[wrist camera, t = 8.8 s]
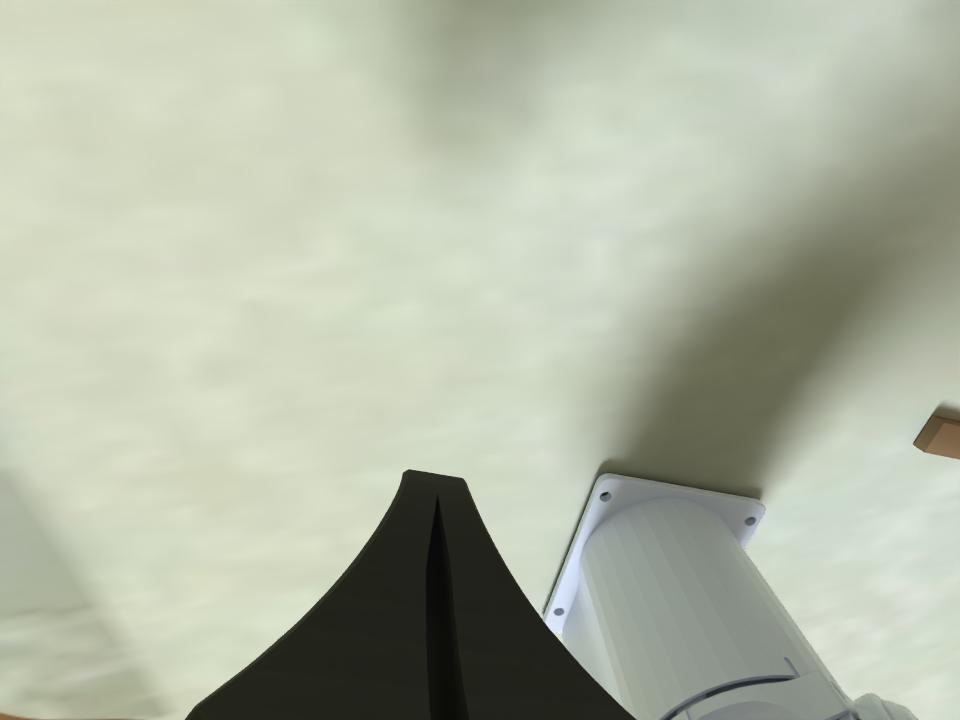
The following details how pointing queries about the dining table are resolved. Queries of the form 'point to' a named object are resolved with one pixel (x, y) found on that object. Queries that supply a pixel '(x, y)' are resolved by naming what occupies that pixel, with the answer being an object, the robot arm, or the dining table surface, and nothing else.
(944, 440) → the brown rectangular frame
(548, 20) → the dining table surface
